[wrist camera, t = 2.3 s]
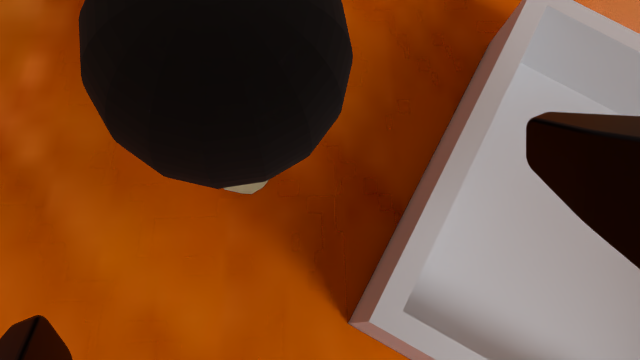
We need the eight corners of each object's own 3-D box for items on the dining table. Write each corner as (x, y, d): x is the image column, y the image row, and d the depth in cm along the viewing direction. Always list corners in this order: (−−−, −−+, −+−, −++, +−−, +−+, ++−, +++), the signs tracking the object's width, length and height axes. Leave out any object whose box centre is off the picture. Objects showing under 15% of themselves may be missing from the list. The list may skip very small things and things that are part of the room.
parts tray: (775, 191, 23) (889, 160, 19) (694, 521, 19) (820, 578, 14) (489, 43, 24) (535, -19, 20) (347, 323, 20) (368, 321, 15)
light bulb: (171, 92, 22) (60, -169, 10) (321, 100, 22) (372, -138, 11) (152, 242, 20) (-8, 123, 9) (318, 248, 20) (376, 143, 9)
